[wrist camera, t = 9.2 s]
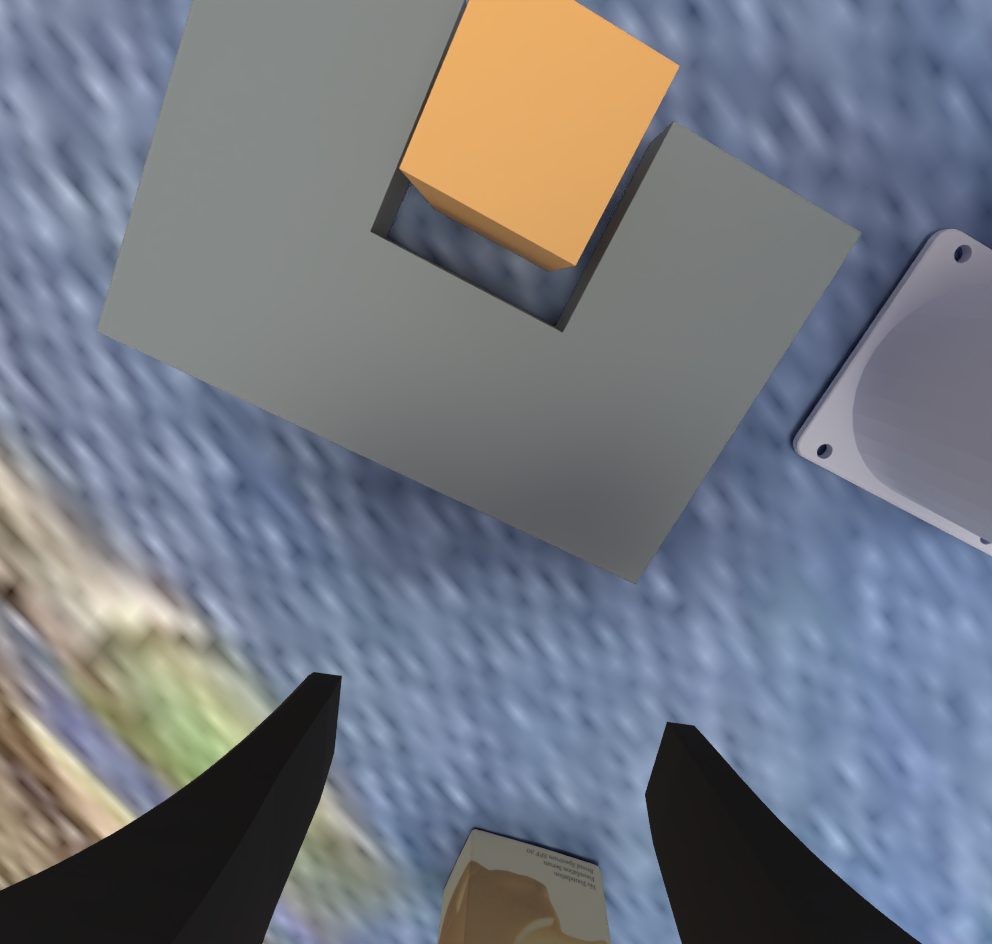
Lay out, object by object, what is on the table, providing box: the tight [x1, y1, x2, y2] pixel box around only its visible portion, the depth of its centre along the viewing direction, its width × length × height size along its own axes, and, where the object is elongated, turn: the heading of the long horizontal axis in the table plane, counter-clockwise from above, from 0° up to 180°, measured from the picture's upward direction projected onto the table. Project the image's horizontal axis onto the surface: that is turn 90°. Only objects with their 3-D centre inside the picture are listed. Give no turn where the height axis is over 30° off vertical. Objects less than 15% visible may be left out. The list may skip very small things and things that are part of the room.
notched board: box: [97, 0, 862, 584], centre depth 18 cm, size 18×12×2 cm, turn 63°
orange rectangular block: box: [399, 0, 679, 272], centre depth 15 cm, size 4×4×7 cm
